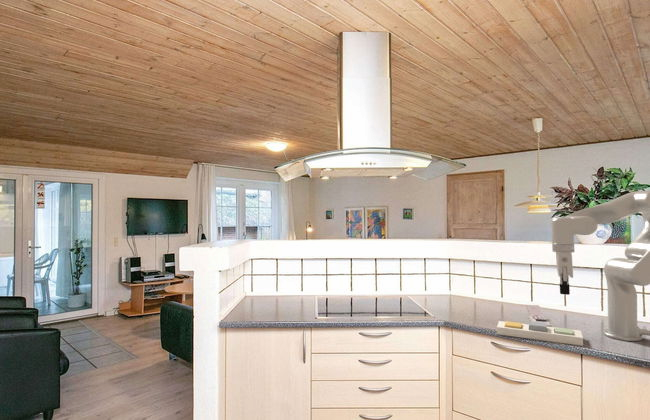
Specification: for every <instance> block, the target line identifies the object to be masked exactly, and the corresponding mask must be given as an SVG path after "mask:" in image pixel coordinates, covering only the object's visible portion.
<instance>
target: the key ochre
mask: <svg viewBox="0 0 650 420" xmlns="http://www.w3.org/2000/svg"><path fill="white" fill-rule="evenodd" d="M505 322H506V324H505V327H510V328H518V329H522V324H523V323H522V322H517V321H516V322H515V321H507V320H506V321H505Z"/></svg>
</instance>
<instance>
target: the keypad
mask: <svg viewBox="0 0 650 420" xmlns="http://www.w3.org/2000/svg"><path fill="white" fill-rule="evenodd" d="M505 324H506V321H503V320H498V322H497V326H496V335H499V336H507V337H514V338H515V337H516V338H522V339H528V340H529V339H530V340H537V341H543V342H544V341H545V342H551V343H558V344H560V343H561V344H569V345H575V346H584V337H583V333H582V331H581V330H580V329H572V331H573V335H566V334H558V333H555V326H551V327H546V330H547V332H542V331H534V330H530V329H529V324H530V323H529V324H526V323H522V329H518V328H510V327H505Z"/></svg>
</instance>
